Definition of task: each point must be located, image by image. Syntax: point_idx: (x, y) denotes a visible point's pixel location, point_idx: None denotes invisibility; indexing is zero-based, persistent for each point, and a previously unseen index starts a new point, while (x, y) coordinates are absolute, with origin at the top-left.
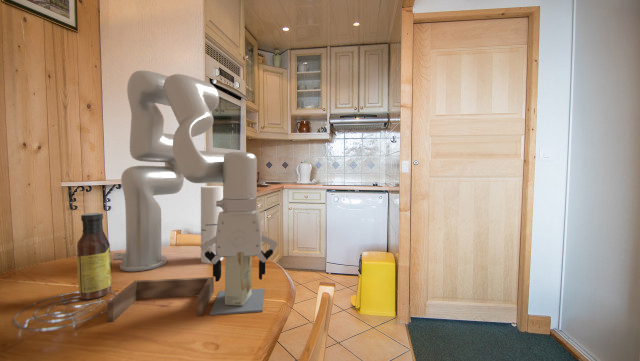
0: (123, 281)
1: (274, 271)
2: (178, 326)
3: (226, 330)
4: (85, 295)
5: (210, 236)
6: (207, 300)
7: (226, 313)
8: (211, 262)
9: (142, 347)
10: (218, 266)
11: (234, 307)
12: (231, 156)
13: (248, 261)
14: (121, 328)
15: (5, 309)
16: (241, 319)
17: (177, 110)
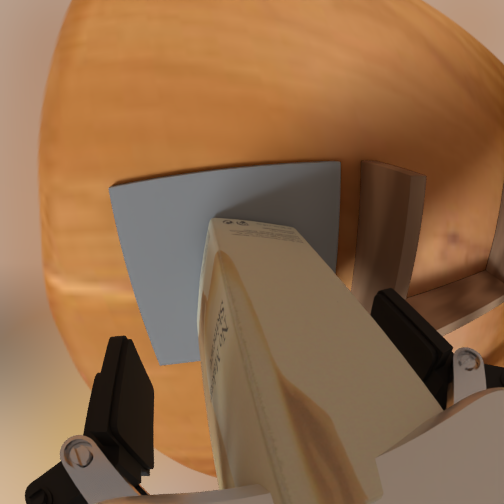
0: (488, 331)
1: (173, 448)
2: (409, 104)
3: (241, 40)
4: None
5: None
6: (366, 249)
7: (272, 164)
8: (474, 352)
9: (441, 33)
10: (429, 348)
11: (246, 208)
12: None
13: (222, 449)
14: (493, 136)
15: None
16: (192, 117)
17: None
